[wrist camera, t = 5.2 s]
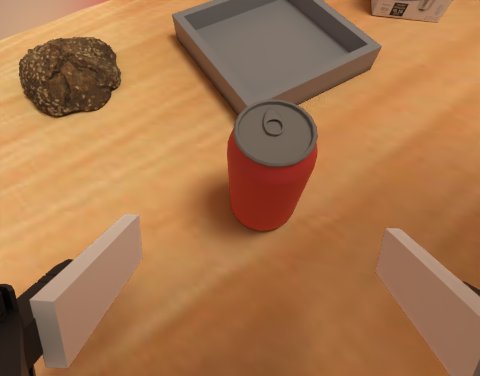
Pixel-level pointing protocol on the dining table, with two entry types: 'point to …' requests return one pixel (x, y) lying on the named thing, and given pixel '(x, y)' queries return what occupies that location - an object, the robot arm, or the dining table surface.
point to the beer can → (270, 162)
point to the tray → (273, 48)
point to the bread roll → (69, 75)
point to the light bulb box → (411, 9)
